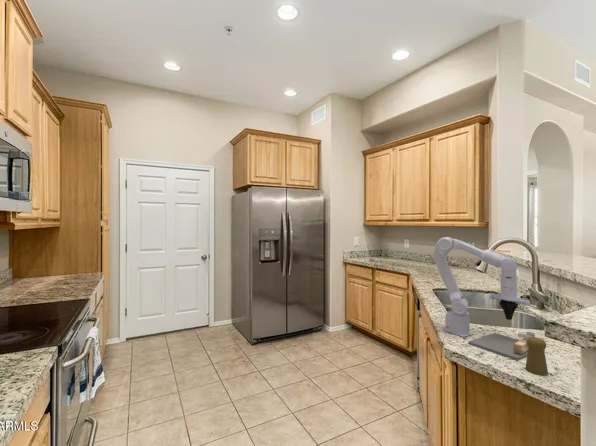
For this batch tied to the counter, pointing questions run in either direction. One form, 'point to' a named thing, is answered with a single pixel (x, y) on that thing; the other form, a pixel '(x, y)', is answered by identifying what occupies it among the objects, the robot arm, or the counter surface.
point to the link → (521, 346)
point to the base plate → (500, 345)
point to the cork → (536, 356)
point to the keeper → (524, 335)
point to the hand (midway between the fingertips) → (509, 319)
